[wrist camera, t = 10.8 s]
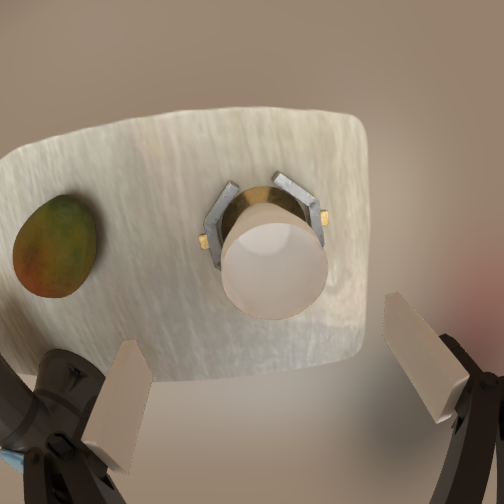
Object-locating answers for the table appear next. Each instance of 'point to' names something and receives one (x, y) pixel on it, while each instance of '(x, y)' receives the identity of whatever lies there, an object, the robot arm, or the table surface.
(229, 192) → the socket
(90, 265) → the fruit
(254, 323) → the table surface
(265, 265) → the cup
